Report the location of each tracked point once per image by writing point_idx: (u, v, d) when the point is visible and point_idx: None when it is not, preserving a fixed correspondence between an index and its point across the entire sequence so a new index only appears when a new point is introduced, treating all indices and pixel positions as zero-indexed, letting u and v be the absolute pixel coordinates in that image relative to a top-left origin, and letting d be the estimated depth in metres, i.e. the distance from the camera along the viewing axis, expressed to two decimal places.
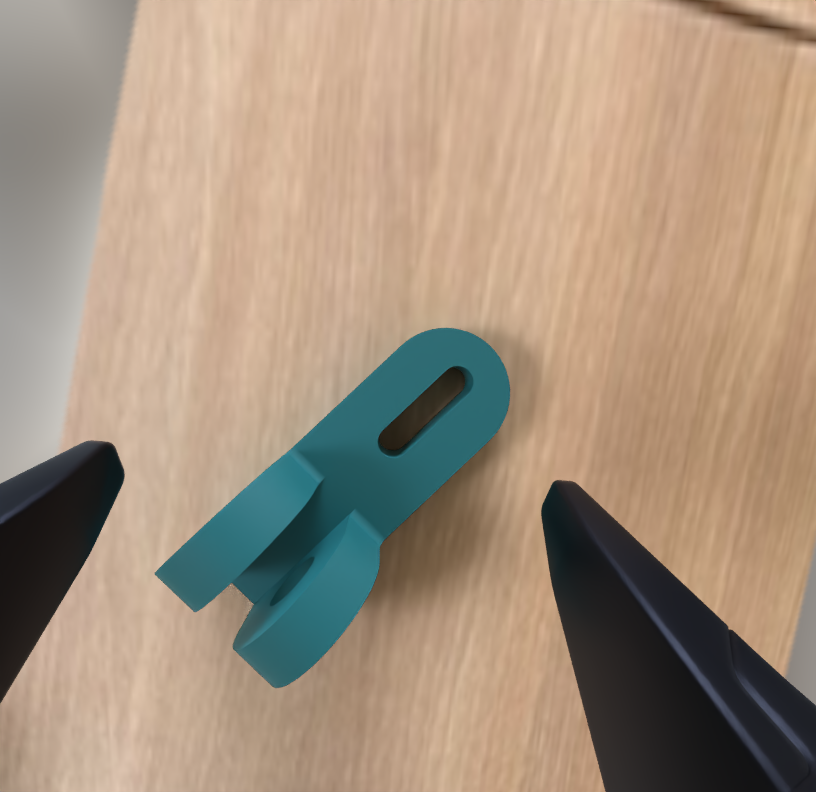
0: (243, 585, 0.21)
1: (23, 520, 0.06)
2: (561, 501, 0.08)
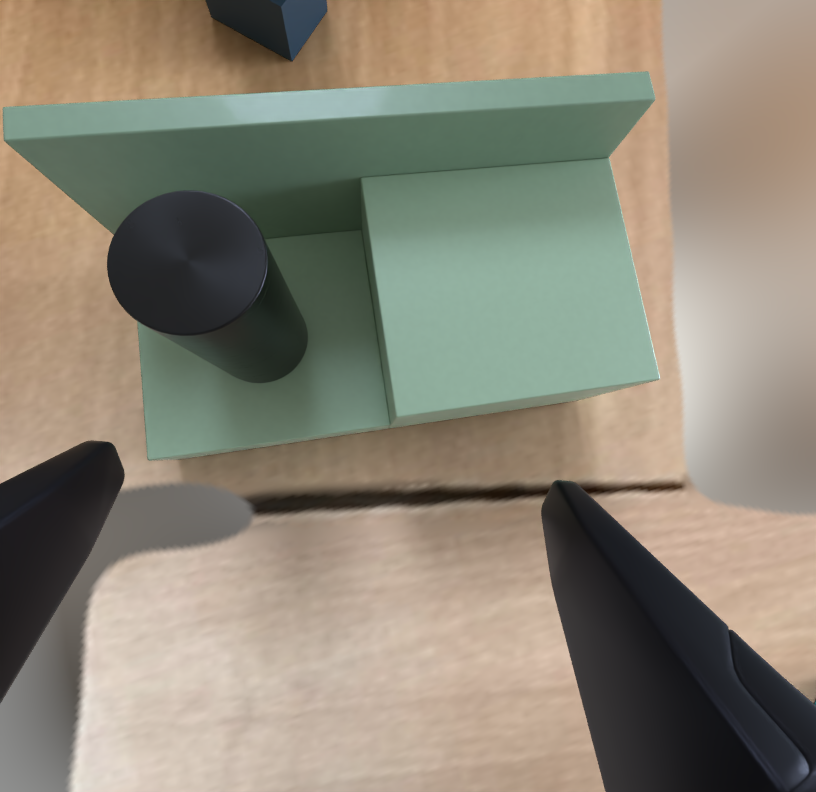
0: None
1: (23, 520, 0.06)
2: (561, 501, 0.08)
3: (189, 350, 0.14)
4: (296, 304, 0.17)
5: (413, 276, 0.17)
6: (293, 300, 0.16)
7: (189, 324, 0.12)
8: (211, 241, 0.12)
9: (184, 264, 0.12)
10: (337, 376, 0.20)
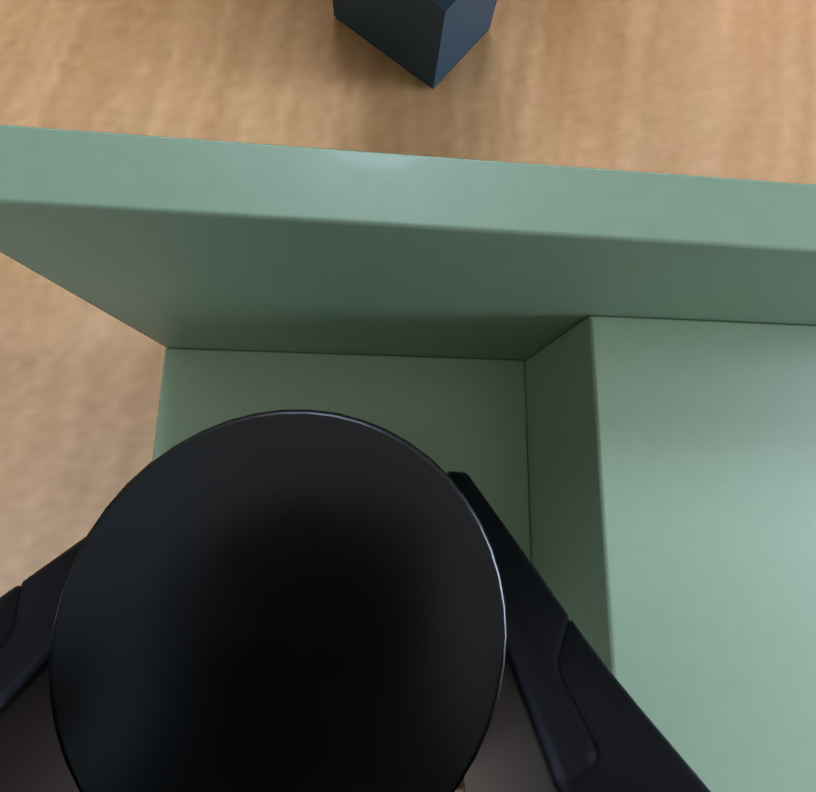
0: None
1: None
2: None
3: None
4: None
5: (673, 523, 0.09)
6: None
7: None
8: (361, 575, 0.04)
9: (275, 645, 0.04)
10: None
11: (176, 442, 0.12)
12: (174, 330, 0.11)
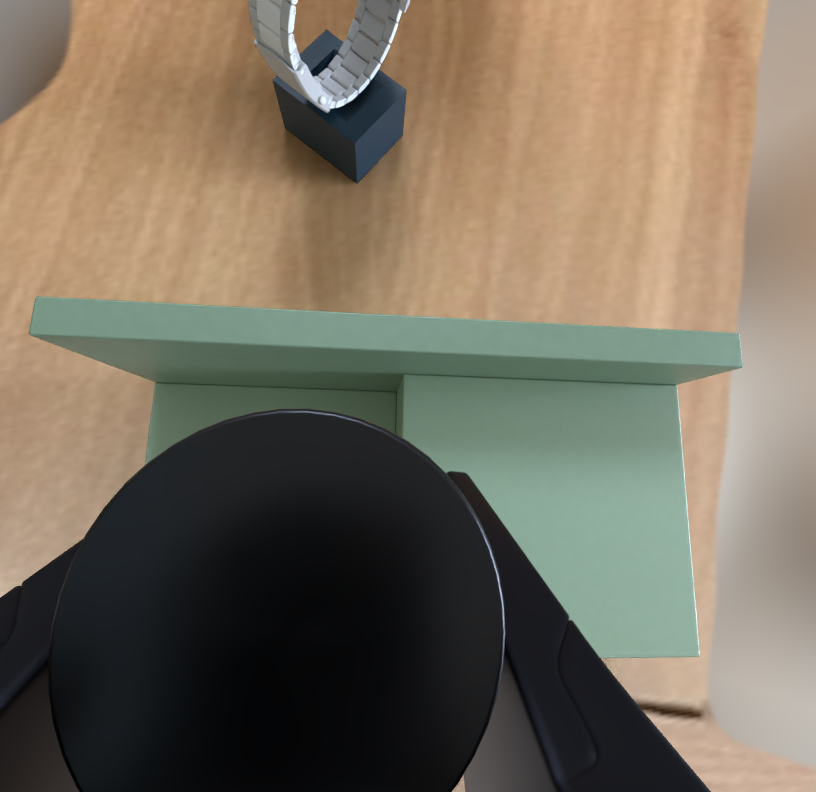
0: None
1: None
2: None
3: None
4: None
5: None
6: None
7: None
8: (359, 574, 0.04)
9: (274, 644, 0.04)
10: None
11: (161, 445, 0.18)
12: (159, 375, 0.17)
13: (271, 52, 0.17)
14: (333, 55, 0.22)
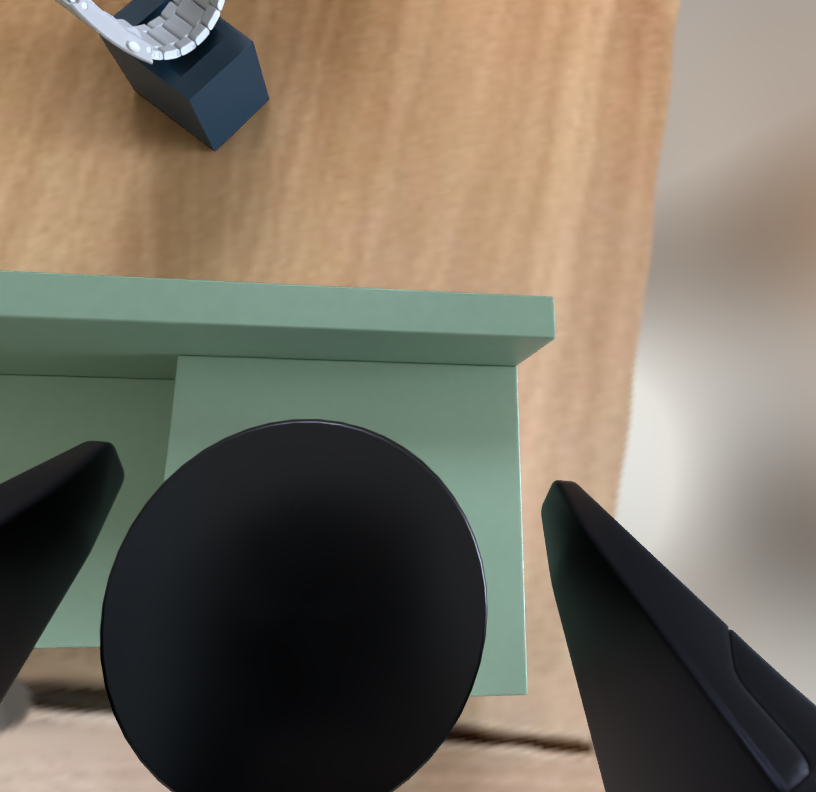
0: None
1: (23, 520, 0.06)
2: (561, 501, 0.08)
3: None
4: None
5: None
6: None
7: None
8: (362, 561, 0.05)
9: (291, 620, 0.05)
10: None
11: None
12: None
13: None
14: None
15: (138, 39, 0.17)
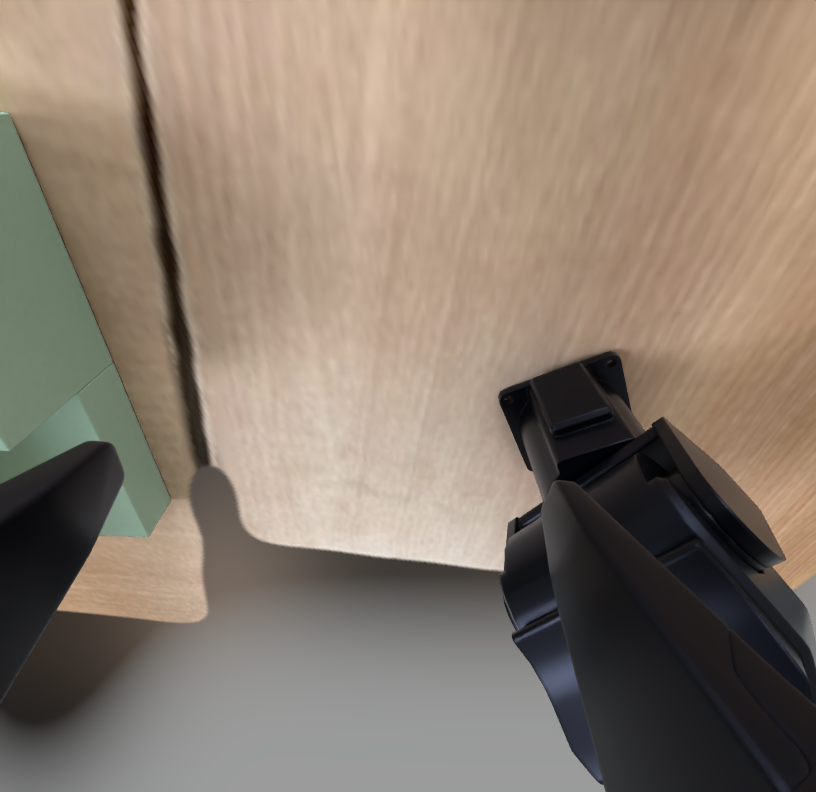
0: None
1: (23, 520, 0.06)
2: (561, 501, 0.08)
3: None
4: None
5: None
6: None
7: None
8: None
9: None
10: (40, 427, 0.21)
11: None
12: None
13: None
14: None
15: None
